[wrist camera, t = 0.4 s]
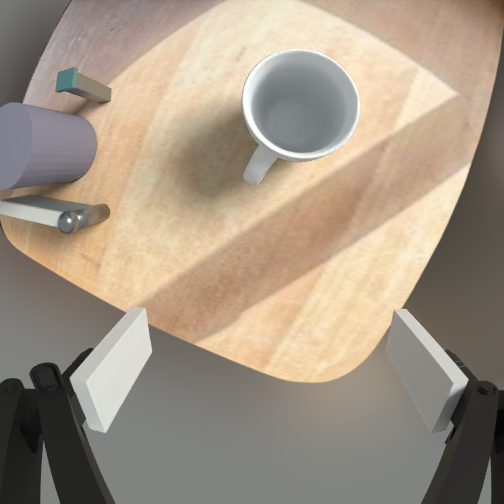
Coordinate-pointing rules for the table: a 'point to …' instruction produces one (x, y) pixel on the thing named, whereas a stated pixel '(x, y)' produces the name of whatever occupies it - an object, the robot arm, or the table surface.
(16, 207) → the grey flat board
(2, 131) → the container
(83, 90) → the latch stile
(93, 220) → the hinge post
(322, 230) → the table surface
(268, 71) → the mug
